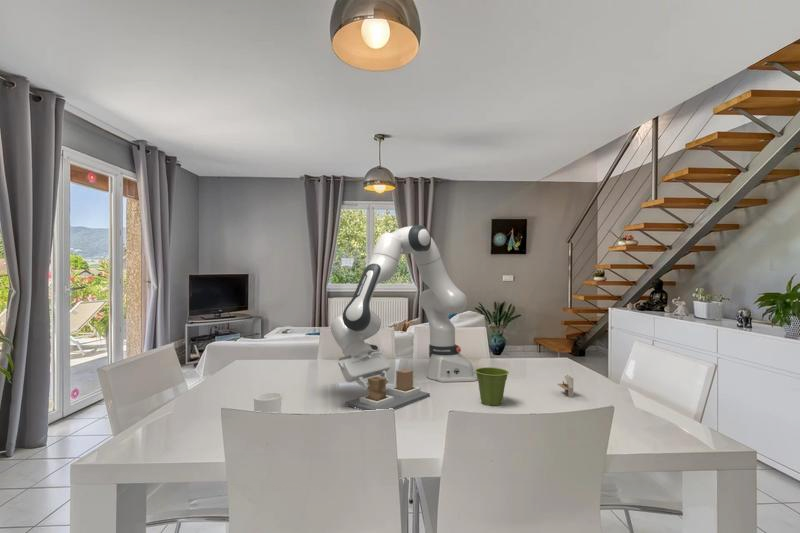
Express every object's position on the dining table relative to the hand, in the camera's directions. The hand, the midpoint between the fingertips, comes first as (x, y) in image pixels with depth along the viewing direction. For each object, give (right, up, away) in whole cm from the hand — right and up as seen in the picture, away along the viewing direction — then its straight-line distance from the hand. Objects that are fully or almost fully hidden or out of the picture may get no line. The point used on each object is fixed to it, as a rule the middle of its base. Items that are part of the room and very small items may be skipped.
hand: (377, 385), depth 146 cm
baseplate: (+4, -7, +5) cm, 9 cm away
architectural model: (+71, -7, +11) cm, 72 cm away
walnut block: (0, -6, 0) cm, 6 cm away
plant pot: (+40, -7, +2) cm, 41 cm away
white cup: (-31, -7, -22) cm, 39 cm away
